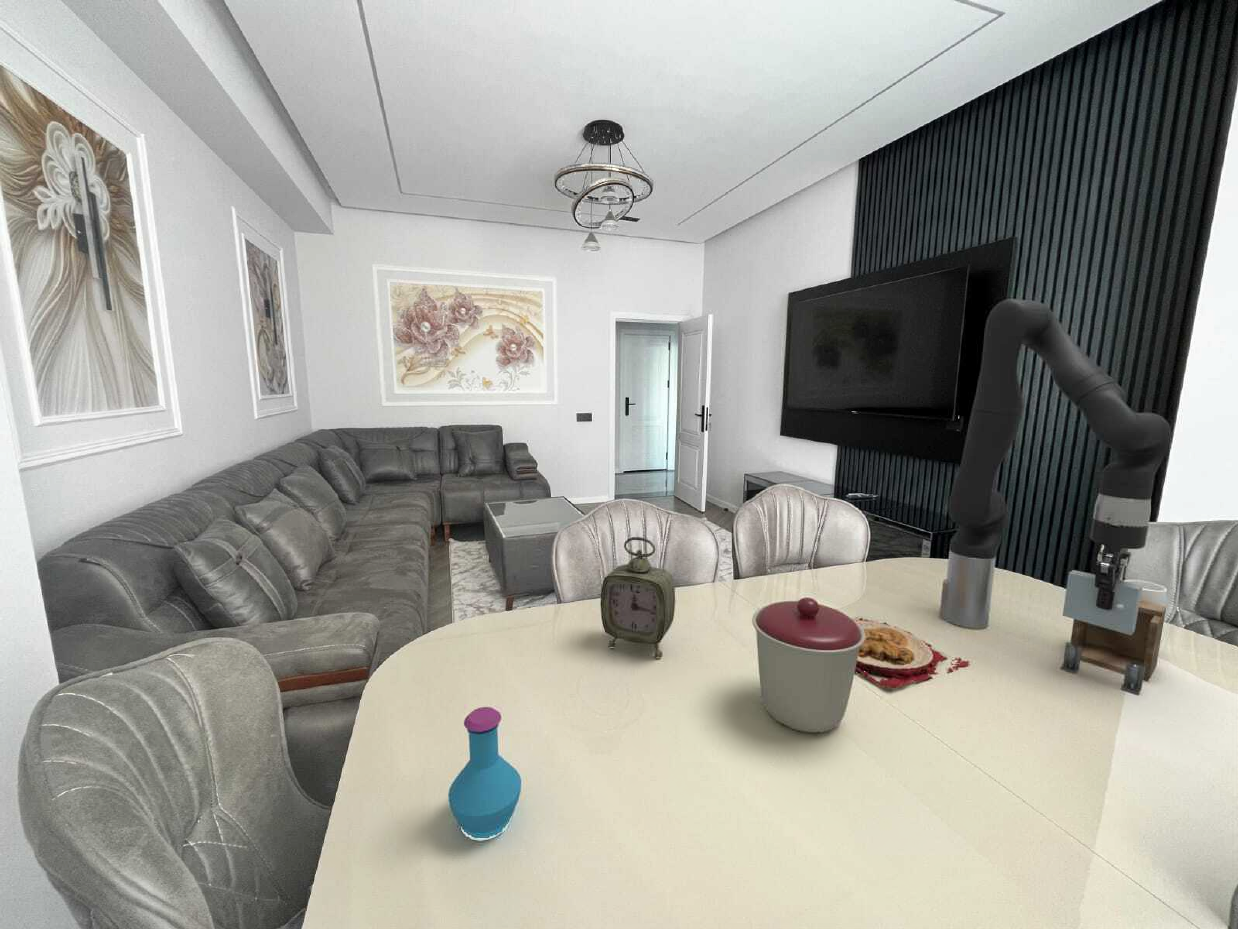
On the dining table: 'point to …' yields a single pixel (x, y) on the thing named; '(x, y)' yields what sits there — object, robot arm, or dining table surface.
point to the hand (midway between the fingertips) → (1106, 605)
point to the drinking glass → (1151, 592)
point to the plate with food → (896, 655)
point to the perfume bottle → (484, 780)
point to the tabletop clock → (638, 601)
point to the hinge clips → (1132, 672)
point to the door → (1084, 608)
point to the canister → (806, 662)
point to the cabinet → (1123, 641)
